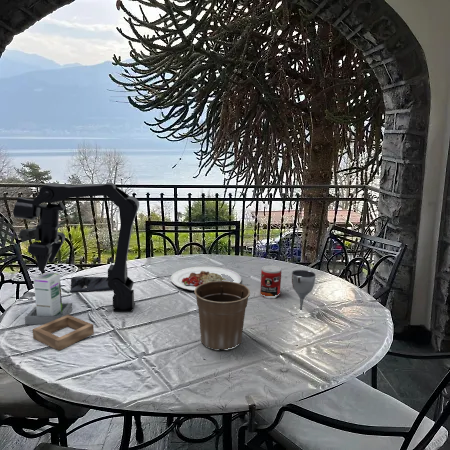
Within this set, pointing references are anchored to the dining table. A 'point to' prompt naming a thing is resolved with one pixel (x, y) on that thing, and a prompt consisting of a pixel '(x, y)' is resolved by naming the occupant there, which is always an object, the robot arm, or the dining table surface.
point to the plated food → (201, 276)
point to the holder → (35, 319)
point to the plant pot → (221, 313)
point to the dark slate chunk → (89, 284)
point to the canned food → (270, 280)
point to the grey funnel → (303, 283)
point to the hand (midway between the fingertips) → (46, 266)
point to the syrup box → (48, 294)
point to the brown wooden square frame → (64, 341)
